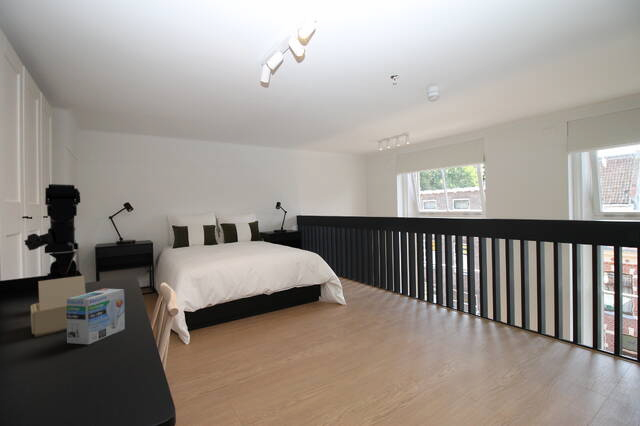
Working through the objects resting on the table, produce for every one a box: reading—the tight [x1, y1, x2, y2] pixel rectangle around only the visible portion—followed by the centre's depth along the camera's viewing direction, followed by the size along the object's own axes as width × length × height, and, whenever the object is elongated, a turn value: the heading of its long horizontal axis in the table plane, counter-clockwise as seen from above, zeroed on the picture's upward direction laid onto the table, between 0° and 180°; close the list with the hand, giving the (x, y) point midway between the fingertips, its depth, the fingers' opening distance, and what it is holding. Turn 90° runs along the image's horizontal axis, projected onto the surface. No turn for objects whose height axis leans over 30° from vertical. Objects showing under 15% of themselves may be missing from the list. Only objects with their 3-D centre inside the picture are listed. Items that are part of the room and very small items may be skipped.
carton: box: [30, 302, 67, 338], centre depth 86 cm, size 13×12×6 cm
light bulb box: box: [66, 288, 126, 345], centre depth 77 cm, size 11×7×11 cm, turn 168°
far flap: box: [37, 275, 87, 311], centre depth 83 cm, size 8×10×1 cm
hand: (63, 274), depth 94 cm, fingers closed
